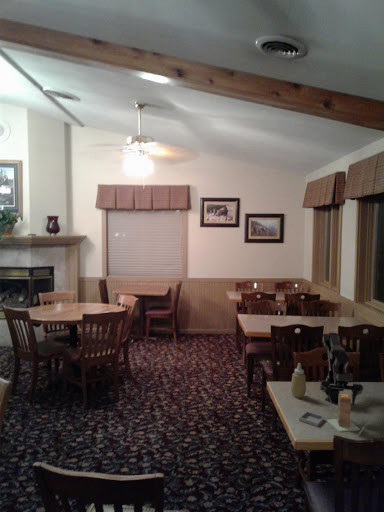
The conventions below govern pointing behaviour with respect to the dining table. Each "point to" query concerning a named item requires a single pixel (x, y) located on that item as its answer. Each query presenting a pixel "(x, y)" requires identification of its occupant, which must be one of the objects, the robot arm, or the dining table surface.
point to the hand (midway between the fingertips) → (342, 405)
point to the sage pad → (341, 428)
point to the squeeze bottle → (298, 383)
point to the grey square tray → (311, 418)
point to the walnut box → (344, 410)
